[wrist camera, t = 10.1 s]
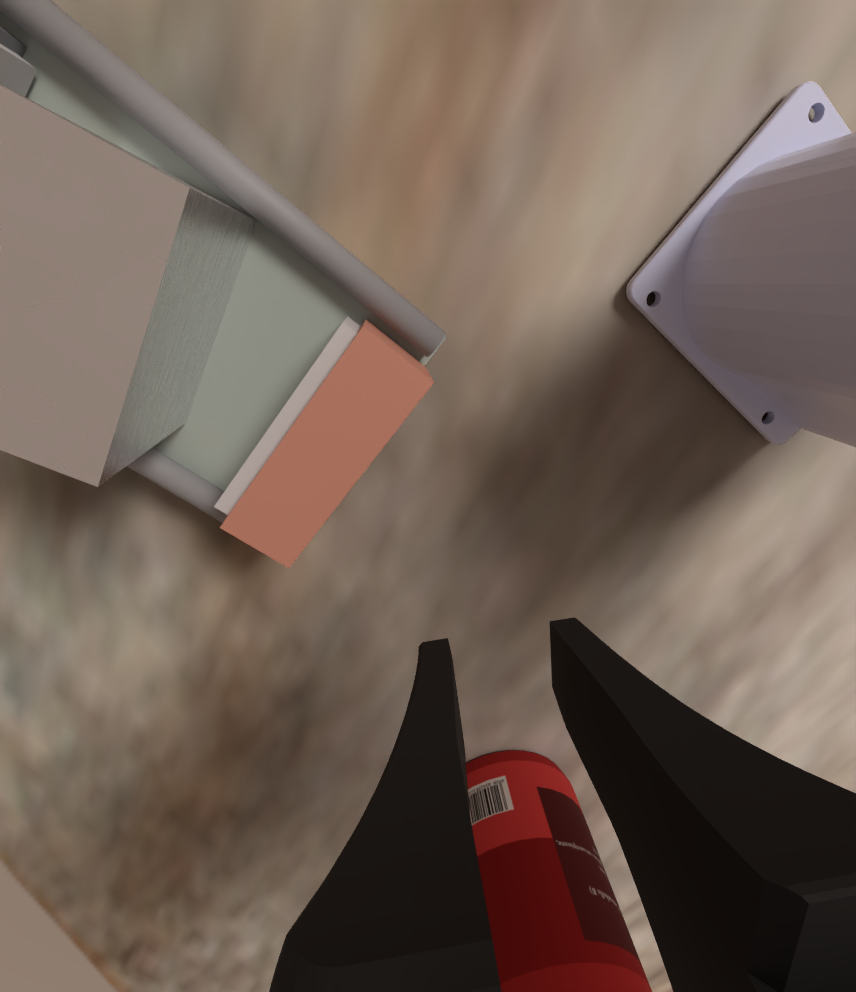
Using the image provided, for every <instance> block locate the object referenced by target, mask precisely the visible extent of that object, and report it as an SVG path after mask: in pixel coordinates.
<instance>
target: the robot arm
mask: <svg viewBox="0 0 856 992" xmlns="http://www.w3.org/2000/svg"><path fill="white" fill-rule="evenodd" d="M811 107H812V108H813V109H814V112H815V115H814V119H813V121H812V122H811V121H809V118H808V113H809V110H810V108H811ZM651 292H654V294H655V301H654V303H653V304H652V305H651V306H648V304H647V302H646V299H647V296H648V294H649V293H651ZM626 295H627V298H628V300H629V301H630V302H631V303H632V304H633V305H634V306H635V307H636V308H637V309H638V310H639V311H640V312H641V313H642V314H643V315H644V316H645V317H646V318H647V319H648V320H649V321H650V322H651V323H652V324H653V325H654V326H655V328H656V329H657V330H658V331H659V332H660V333H661V334H662V335H663V336H664V337H665V338H666V339H667V340H668V341H669V342H670V343H671V344H672V345H673V346H674V347H675V348H676V349H677V350H678V351H679V352H680V353H681V354H682V355H683V356H684V357H685V358H686V359H687V360H688V361H689V362H690V363H691V364H692V365H693V366H694V367H695V368H696V369H697V370H698V371H699V372H700V373H701V374H702V375H703V376H704V377H705V378H706V379H707V380H708V381H709V382H710V383H711V384H712V385H713V386H714V387H715V388H716V389H717V390H718V391H719V392H720V393H721V394H722V395H723V396H724V397H725V398H726V399H727V400H728V401H729V402H730V403H731V404H732V405H733V406H734V407H735V408H736V409H737V410H738V411H739V413H740V414H741V415H742V416H743V417H744V418H745V419H746V420H747V421H748V422H749V423H750V424H751V425H752V426H753V427H754V428H755V429H756V430H757V431H758V432H759V433H760V434H761V435H762V436H763V437H764V438H765V439H766V440H768V441H769V442H771V443H774V444H782V443H785V442H786V441H788V440H789V439H790V438H791V437H792V436H793V435H794V434H795V433H796V432H797V431H798V430H799V429H800V428H802V429H805V430H808V431H811V432H814V433H816V434H819V435H822V436H825V437H828V438H831V439H834V440H837V441H839V442H842V443H845V444H848V445H851V446H854V447H856V132H855V133H851V131H850V130H849V128H848V127H847V125H846V124H845V122H844V121H843V120H842V118H841V117H840V115H839V114H838V112H837V111H836V109H835V108H834V106H833V105H832V103H831V102H830V100H829V99H828V98H827V96H826V95H825V93H824V92H823V90H822V89H821V87H820V86H819V85H818V84H817V83H816V82H812V81H809V82H806V83H803V84H801V85H799V86H797V87H795V88H794V89H793V90H792V91H790V93H789V94H788V95H787V96H786V97H785V98H784V100H783V101H782V102H781V103H780V104H779V106H778V107H777V108H776V109H775V110H774V111H773V113H772V114H771V115H770V116H769V117H768V118H767V120H766V121H765V122H764V123H763V124H762V126H761V127H760V128H759V129H758V130H757V131H756V133H755V134H754V135H753V136H752V137H751V138H750V140H749V141H748V142H747V143H746V144H745V146H744V147H743V148H742V149H741V150H740V151H739V153H738V154H737V155H736V156H735V157H734V159H733V160H732V161H731V162H730V163H729V164H728V166H727V167H726V168H725V169H724V170H723V171H722V173H721V174H720V175H719V176H718V177H717V179H716V180H715V181H714V182H713V183H712V184H711V186H710V187H709V188H708V189H707V190H706V191H705V193H704V194H703V195H702V196H701V197H700V199H699V200H698V201H697V202H696V203H695V204H694V206H693V207H692V208H691V209H690V210H689V211H688V213H687V214H686V215H685V216H684V217H683V219H682V220H681V221H680V222H679V223H678V224H677V226H676V227H675V228H674V229H673V230H672V231H671V233H670V234H669V235H668V236H667V237H666V239H665V240H664V241H663V242H662V243H661V244H660V246H659V247H658V248H657V249H656V250H655V251H654V253H653V254H652V255H651V256H650V257H649V259H648V260H647V261H646V262H645V263H644V264H643V266H642V267H641V268H640V269H639V270H638V271H637V273H636V274H635V275H634V276H633V277H632V279H631V280H630V281H629V283H628V285H627V288H626ZM766 412H768V415H767V417H766V419H765V420H763V421H762V416H763V415H764V414H765V413H766ZM550 642H551V667H552V687H553V690H554V693H555V696H556V699H557V702H558V705H559V708H560V711H561V714H562V717H563V720H564V723H565V725H566V728H567V730H568V732H569V734H570V737H571V739H572V741H573V743H574V745H575V747H576V749H577V751H578V754H579V756H580V758H581V760H582V762H583V764H584V766H585V768H586V770H587V772H588V775H589V777H590V779H591V781H592V783H593V785H594V787H595V789H596V791H597V793H598V796H599V798H600V800H601V802H602V804H603V806H604V808H605V810H606V812H607V814H608V816H609V819H610V821H611V823H612V825H613V828H614V830H615V832H616V835H617V837H618V839H619V842H620V844H621V847H622V850H623V852H624V855H625V858H626V860H627V863H628V866H629V868H630V871H631V874H632V876H633V879H634V882H635V884H636V887H637V890H638V892H639V895H640V898H641V901H642V904H643V906H644V909H645V912H646V915H647V917H648V920H649V923H650V926H651V928H652V931H653V934H654V937H655V940H656V942H657V945H658V948H659V951H660V954H661V957H662V960H663V963H664V965H665V968H666V971H667V974H668V977H669V980H670V983H671V986H672V989H673V992H856V793H854V792H851V791H849V790H847V789H844V788H842V787H840V786H837V785H835V784H833V783H831V782H828V781H826V780H824V779H822V778H820V777H817V776H815V775H813V774H811V773H808V772H806V771H804V770H802V769H800V768H798V767H796V766H794V765H792V764H789V763H787V762H785V761H783V760H781V759H779V758H777V757H775V756H773V755H771V754H770V753H768V752H766V751H764V750H762V749H760V748H758V747H756V746H754V745H752V744H750V743H749V742H747V741H745V740H743V739H741V738H739V737H738V736H736V735H734V734H732V733H730V732H729V731H727V730H725V729H723V728H722V727H720V726H719V725H717V724H715V723H714V722H712V721H710V720H709V719H707V718H705V717H704V716H702V715H700V714H699V713H697V712H696V711H694V710H692V709H691V708H689V707H688V706H686V705H685V704H683V703H682V702H680V701H679V700H677V699H676V698H675V697H673V696H672V695H670V694H669V693H668V692H666V691H665V690H663V689H662V688H661V687H659V686H658V685H656V684H655V683H654V682H652V681H651V680H650V679H648V678H647V677H646V676H645V675H643V674H642V673H641V672H639V671H638V670H637V669H636V668H634V667H633V666H632V665H631V664H629V663H628V662H627V661H625V660H624V659H623V658H622V657H621V656H619V655H618V654H617V653H616V652H615V651H613V650H612V649H611V648H610V647H609V646H607V645H606V644H605V643H604V642H603V641H602V640H600V639H599V638H598V637H597V636H596V635H595V634H594V633H592V632H591V631H590V630H589V629H588V628H587V627H585V626H584V625H583V624H582V623H581V622H580V621H579V620H577V619H576V618H569V619H562V620H556V621H550ZM269 992H501V986H500V980H499V974H498V968H497V962H496V957H495V951H494V945H493V939H492V934H491V928H490V923H489V918H488V912H487V907H486V901H485V896H484V890H483V885H482V879H481V874H480V868H479V863H478V857H477V852H476V846H475V840H474V835H473V829H472V824H471V818H470V807H469V795H468V783H467V771H466V760H465V748H464V739H463V732H462V725H461V718H460V711H459V703H458V696H457V689H456V682H455V675H454V667H453V660H452V655H451V650H450V646H449V641H448V638H446V639H440V640H434V641H427V642H423V643H422V644H421V645H420V646H419V654H418V664H417V670H416V675H415V680H414V684H413V689H412V692H411V696H410V700H409V703H408V707H407V711H406V714H405V717H404V720H403V723H402V726H401V729H400V732H399V734H398V737H397V740H396V743H395V746H394V748H393V751H392V753H391V756H390V758H389V761H388V763H387V766H386V768H385V770H384V773H383V775H382V777H381V779H380V781H379V784H378V786H377V788H376V790H375V792H374V794H373V796H372V798H371V800H370V802H369V804H368V806H367V808H366V810H365V812H364V814H363V816H362V818H361V820H360V821H359V823H358V825H357V827H356V829H355V831H354V832H353V834H352V836H351V837H350V839H349V841H348V842H347V844H346V846H345V847H344V849H343V851H342V852H341V854H340V856H339V857H338V859H337V861H336V862H335V864H334V866H333V867H332V869H331V871H330V872H329V874H328V875H327V877H326V878H325V880H324V882H323V883H322V885H321V886H320V888H319V889H318V890H317V892H316V893H315V895H314V896H313V898H312V899H311V900H310V902H309V903H308V905H307V906H306V908H305V909H304V910H303V912H302V913H301V915H300V916H299V918H298V919H297V921H296V922H295V923H294V925H293V926H292V928H291V929H290V930H289V932H288V933H287V935H286V938H285V941H284V944H283V947H282V950H281V953H280V956H279V959H278V962H277V965H276V969H275V972H274V976H273V980H272V983H271V987H270V991H269Z"/></svg>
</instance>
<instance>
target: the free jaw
mask: <svg viewBox="0 0 856 992" xmlns="http://www.w3.org/2000/svg"><path fill="white" fill-rule="evenodd" d="M433 383H434V382H433V380H432V378H431V376H430V374H429V372H428V371H427V369H426V367H425V366H424V365H423V364H422V363H421V362H419V361H418V360H417V359H416V358H414V357H413V356H412V355H411V354H409V353H408V352H407V351H406V350H404V349H403V348H402V347H401V346H399V345H398V344H397V343H396V342H394V341H393V340H392V339H391V338H389V337H388V336H387V335H386V334H384V333H383V332H382V331H381V330H379V329H378V328H377V327H376V326H374V325H373V324H372V323H371V322H369V321H368V320H367V319H365V321H364V322H363V323H362V325H361V326H359V325H358V324H357V323H356V322H354V321H353V320H352V319H350V318H349V317H347V318H346V319H345V320H344V321H343V323H342V324H341V325H340V327H339V328H338V330H337V331H336V333H335V334H334V335H333V337H332V338H331V340H330V341H329V343H328V344H327V345H326V347H325V348H324V350H323V351H322V353H321V354H320V355H319V357H318V358H317V360H316V361H315V363H314V364H313V365H312V367H311V368H310V370H309V371H308V373H307V374H306V376H305V377H304V378H303V380H302V381H301V383H300V384H299V386H298V387H297V388H296V390H295V391H294V393H293V394H292V396H291V397H290V398H289V400H288V401H287V403H286V404H285V406H284V407H283V408H282V410H281V411H280V413H279V414H278V416H277V417H276V418H275V420H274V421H273V423H272V424H271V426H270V427H269V428H268V430H267V431H266V433H265V434H264V436H263V437H262V439H261V440H260V441H259V443H258V444H257V446H256V447H255V449H254V450H253V451H252V453H251V454H250V456H249V457H248V459H247V460H246V461H245V463H244V464H243V466H242V467H241V469H240V470H239V471H238V473H237V474H236V476H235V477H234V479H233V480H232V481H231V483H230V484H229V486H228V487H227V489H226V490H225V491H224V493H223V494H222V496H221V497H220V499H219V500H218V501H217V503H216V504H215V506H214V507H215V508H217V509H218V510H220V511H222V512H223V513H225V514H227V515H228V516H227V517H226V519H225V520H224V522H223V523H222V525H221V526H220V528H221V529H223V530H224V531H226V532H228V533H229V534H231V535H233V536H234V537H236V538H238V539H240V540H241V541H243V542H245V543H246V544H248V545H250V546H252V547H253V548H255V549H257V550H258V551H260V552H262V553H264V554H265V555H267V556H269V557H270V558H272V559H274V560H276V561H277V562H279V563H281V564H282V565H284V566H286V567H288V568H289V567H290V566H291V565H292V564H293V562H294V561H295V560H296V558H297V557H298V556H299V555H300V553H301V552H302V551H303V549H304V548H305V547H306V546H307V544H308V543H309V542H310V540H311V539H312V538H313V537H314V535H315V534H316V533H317V532H318V530H319V529H320V528H321V526H322V525H323V524H324V523H325V521H326V520H327V519H328V517H329V516H330V515H331V514H332V512H333V511H334V510H335V509H336V507H337V506H338V505H339V503H340V502H341V501H342V500H343V498H344V497H345V496H346V494H347V493H348V492H349V491H350V489H351V488H352V487H353V485H354V484H355V483H356V482H357V480H358V479H359V478H360V477H361V475H362V474H363V473H364V471H365V470H366V469H367V468H368V466H369V465H370V464H371V462H372V461H373V460H374V459H375V457H376V456H377V455H378V454H379V452H380V451H381V450H382V448H383V447H384V446H385V445H386V443H387V442H388V441H389V439H390V438H391V437H392V436H393V434H394V433H395V432H396V430H397V429H398V428H399V427H400V425H401V424H402V423H403V422H404V420H405V419H406V418H407V416H408V415H409V414H410V413H411V411H412V410H413V409H414V407H415V406H416V405H417V404H418V402H419V401H420V400H421V399H422V397H423V396H424V395H425V393H426V392H427V391H428V390H429V388H430V387H431V386H432V384H433Z"/></svg>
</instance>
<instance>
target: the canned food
mask: <svg viewBox="0 0 856 992" xmlns="http://www.w3.org/2000/svg"><path fill="white" fill-rule="evenodd" d="M466 771H467V783H468V795H469V807H470V818H471V824H472V829H473V835H474V840H475V846H476V852H477V857H478V863H479V868H480V874H481V879H482V885H483V890H484V896H485V901H486V907H487V912H488V918H489V923H490V928H491V934H492V939H493V945H494V951H495V957H496V962H497V968H498V974H499V980H500V986H501V992H652V990H651V988H650V985H649V983H648V980H647V978H646V975H645V972H644V970H643V967H642V965H641V962H640V960H639V957H638V954H637V952H636V949H635V947H634V944H633V941H632V939H631V936H630V934H629V931H628V929H627V926H626V923H625V921H624V918H623V916H622V913H621V911H620V908H619V905H618V903H617V900H616V898H615V895H614V892H613V890H612V887H611V885H610V882H609V880H608V877H607V874H606V872H605V869H604V867H603V864H602V862H601V859H600V856H599V854H598V851H597V849H596V846H595V844H594V841H593V838H592V836H591V833H590V831H589V828H588V825H587V823H586V820H585V818H584V815H583V813H582V810H581V807H580V805H579V802H578V800H577V797H576V795H575V792H574V789H573V787H572V785H571V783H570V781H569V780H568V779H567V777H566V776H565V775H564V774H563V772H562V771H561V770H560V769H559V768H558V766H557V765H556V764H555V763H554V762H552V761H551V760H549V759H548V758H546V757H544V756H541V755H539V754H536V753H532V752H527V751H501V752H495V753H491V754H488V755H484V756H481V757H479V758H477V759H474V760H472V761H470V762H469V763H467V764H466Z"/></svg>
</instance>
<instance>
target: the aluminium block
mask: <svg viewBox="0 0 856 992" xmlns="http://www.w3.org/2000/svg"><path fill="white" fill-rule="evenodd" d="M256 223H257V221H255V220H254V219H252V218H250V217H248V216H246V215H245V214H243V213H241V212H239V211H237V210H235V209H234V208H232V207H230V206H228V205H226V204H224V203H223V202H221V201H219V200H217V199H215V198H213V197H212V196H210V195H208V194H206V193H204V192H202V191H201V190H199V189H197V188H195V187H193V186H191V185H190V184H188V183H186V182H184V181H182V180H180V179H179V178H177V177H175V176H173V175H171V174H169V173H168V172H166V171H164V170H162V169H160V168H158V167H157V166H155V165H153V164H151V163H149V162H147V161H146V160H144V159H142V158H140V157H138V156H136V155H135V154H133V153H131V152H129V151H127V150H125V149H124V148H122V147H120V146H118V145H116V144H114V143H112V142H110V141H108V140H107V139H105V138H103V137H101V136H99V135H97V134H95V133H93V132H91V131H89V130H87V129H85V128H84V127H82V126H80V125H78V124H76V123H74V122H72V121H70V120H68V119H66V118H64V117H62V116H61V115H59V114H57V113H55V112H53V111H51V110H49V109H47V108H45V107H43V106H41V105H39V104H38V103H36V102H34V101H32V100H30V99H28V98H26V97H24V96H22V95H20V94H18V93H16V92H15V91H13V90H11V89H9V88H7V87H5V86H3V85H1V84H0V450H1V451H4V452H7V453H9V454H12V455H14V456H17V457H20V458H22V459H25V460H28V461H30V462H33V463H35V464H38V465H41V466H43V467H46V468H49V469H51V470H54V471H57V472H59V473H62V474H64V475H67V476H70V477H72V478H75V479H78V480H80V481H83V482H86V483H88V484H91V485H93V486H96V487H99V486H100V485H101V484H103V483H104V482H105V481H107V480H108V479H110V478H111V477H112V476H114V475H115V474H116V473H118V472H119V471H120V470H122V469H123V468H125V467H126V466H127V465H129V464H130V463H131V462H133V461H134V460H136V459H137V458H138V457H140V456H141V455H142V454H144V453H145V452H147V451H148V450H149V449H151V448H152V447H153V446H155V445H156V444H157V443H159V442H160V441H162V440H163V439H164V438H166V437H167V436H168V435H170V434H171V433H173V432H174V431H175V430H177V429H178V428H179V427H181V426H182V425H184V424H185V423H186V420H187V418H188V415H189V412H190V409H191V406H192V403H193V401H194V398H195V395H196V392H197V389H198V387H199V384H200V381H201V378H202V375H203V372H204V370H205V367H206V364H207V361H208V358H209V356H210V353H211V350H212V347H213V344H214V341H215V339H216V336H217V333H218V330H219V327H220V325H221V322H222V319H223V316H224V313H225V310H226V308H227V305H228V302H229V299H230V296H231V293H232V291H233V288H234V285H235V282H236V279H237V277H238V274H239V271H240V268H241V265H242V262H243V260H244V257H245V254H246V251H247V248H248V246H249V243H250V240H251V237H252V234H253V231H254V229H255V226H256Z"/></svg>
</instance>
